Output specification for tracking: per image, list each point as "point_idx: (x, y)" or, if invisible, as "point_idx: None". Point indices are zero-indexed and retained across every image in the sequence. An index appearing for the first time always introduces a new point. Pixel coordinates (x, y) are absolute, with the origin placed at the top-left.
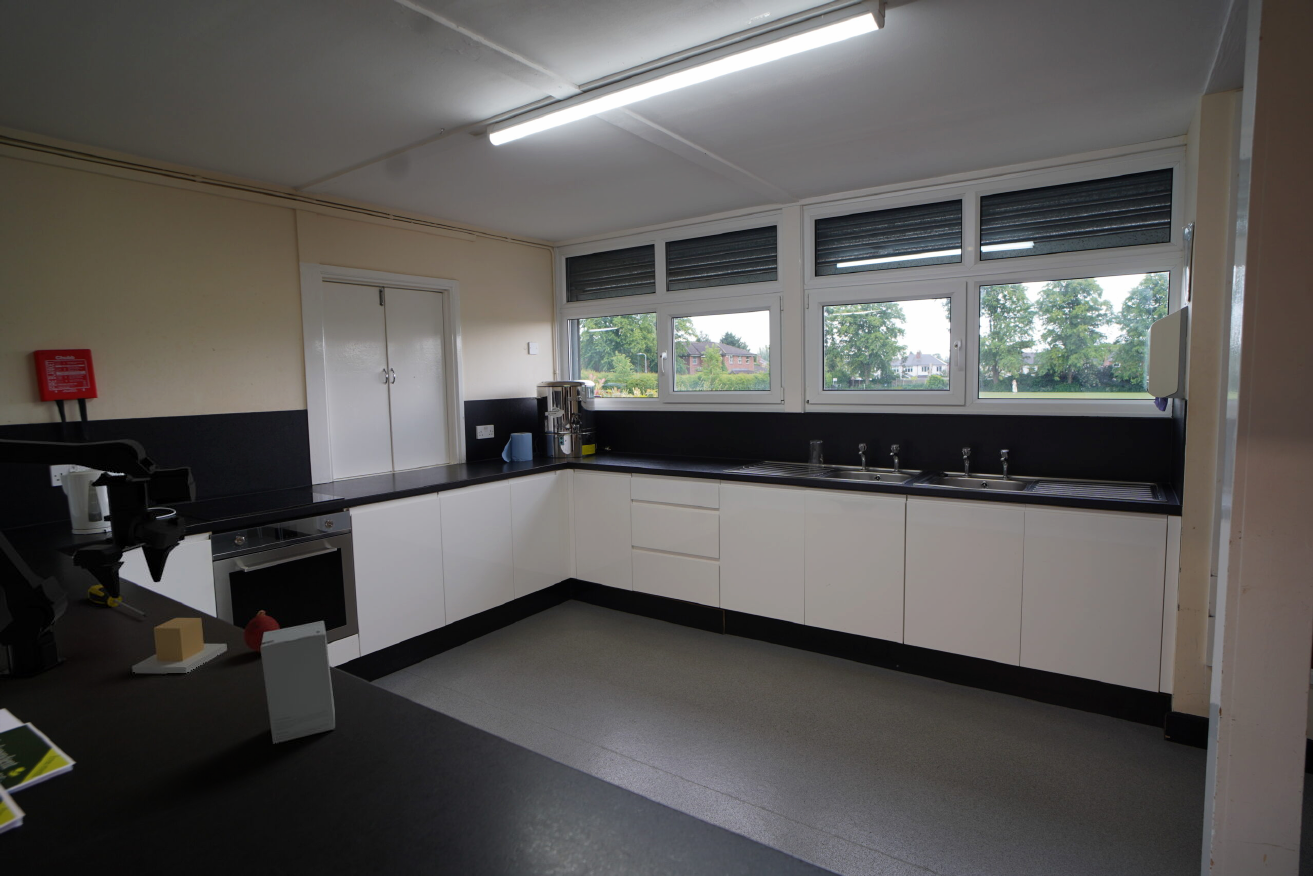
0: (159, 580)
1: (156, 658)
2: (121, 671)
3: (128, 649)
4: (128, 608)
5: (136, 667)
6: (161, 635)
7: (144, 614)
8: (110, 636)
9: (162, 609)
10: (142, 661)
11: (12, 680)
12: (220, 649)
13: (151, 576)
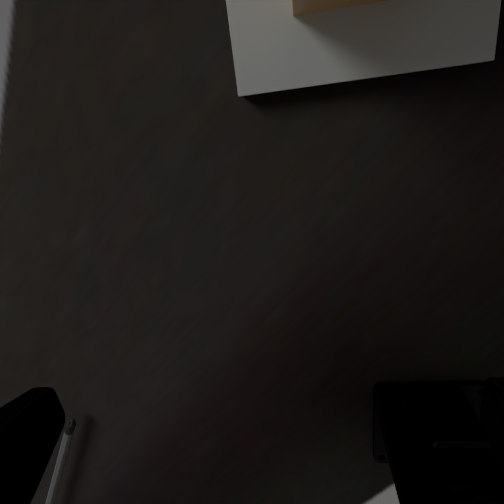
0: (36, 393)
1: (404, 24)
2: (455, 134)
3: (267, 286)
4: (55, 496)
5: (494, 37)
6: None
7: (69, 431)
8: (194, 412)
9: None
10: (439, 63)
11: None
12: None
13: (40, 477)
